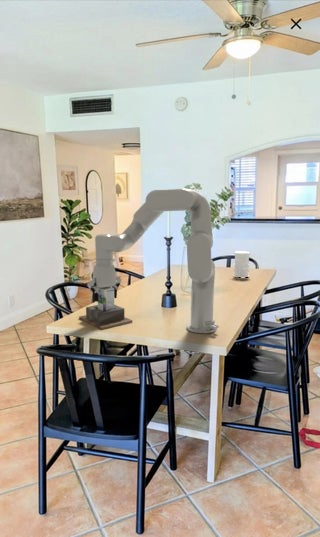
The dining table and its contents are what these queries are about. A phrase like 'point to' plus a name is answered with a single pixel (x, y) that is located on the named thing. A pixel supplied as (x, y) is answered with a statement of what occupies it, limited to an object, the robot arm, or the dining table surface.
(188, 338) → the dining table surface
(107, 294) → the syrup box
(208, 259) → the robot arm
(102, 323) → the socket stand
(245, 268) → the decorative container
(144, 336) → the dining table surface
